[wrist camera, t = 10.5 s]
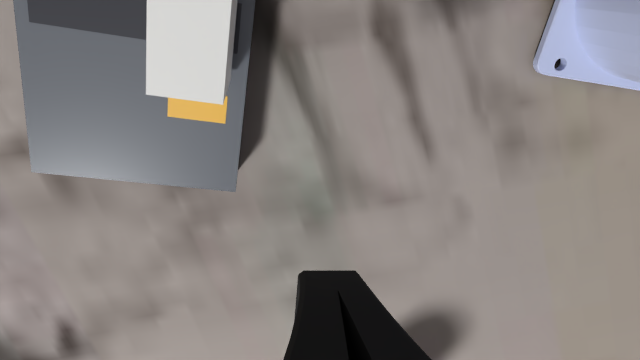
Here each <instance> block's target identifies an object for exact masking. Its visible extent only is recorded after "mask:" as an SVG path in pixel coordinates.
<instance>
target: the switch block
mask: <svg viewBox="0 0 640 360" xmlns="http://www.w3.org/2000/svg"><path fill="white" fill-rule="evenodd" d="M255 1H256V0H237V12H236V23H235V35H234V46H233V58H232V69H231V80H230V83H229V86H228V90H227V93H226V97H225V100H224V104H223V105H221V104H214V103H206V102H198V101H191V100H183V99H176V98H168V97H160V96H153V95H146V24H147V0H13V3H14V12H15V22H16V31H17V40H18V50H19V59H20V68H21V78H22V87H23V97H24V106H25V115H26V125H27V134H28V144H29V153H30V162H31V172H36V173H47V174H57V175H67V176H77V177H88V178H98V179H108V180H118V181H129V182H139V183H149V184H159V185H170V186H180V187H190V188H201V189H211V190H221V191H231V192H235V191H236V183H237V175H238V165H239V156H240V146H241V136H242V127H243V117H244V107H245V98H246V88H247V78H248V68H249V59H250V49H251V39H252V30H253V20H254V10H255Z"/></svg>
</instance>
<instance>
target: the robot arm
mask: <svg viewBox="0 0 640 360" xmlns="http://www.w3.org/2000/svg"><path fill="white" fill-rule="evenodd" d="M558 59H561V63H560V65H559V67H557V68H556V69H555V68H554V65H555V62H556V61H557V60H558ZM533 66H534V69H535V70H536V72H538V73H541V74H544V75H549V76H555V77H561V78H567V79H573V80H579V81H585V82H591V83H597V84H603V85H609V86H615V87H621V88H627V89H633V90H640V0H555V2H554V5H553V8H552V11H551V14H550V16H549V19H548V22H547V25H546V27H545V30H544V33H543V36H542V38H541V41H540V44H539V47H538V49H537V52H536V55H535V58H534V62H533ZM284 360H431V359H430V358H429V356H428V355H427V354H426V353H425V352H424V351H423V350H422V349H421V348H420V347H419V346H418V345H417V344H416V343H415V342H414V341H413V340H412V338H411V337H410V336H409V335H408V334H407V333H406V332H405V330H404V329H403V328H402V327H401V326H400V325H399V324H398V323H397V321H396V320H395V319H394V318H393V317H392V316H391V314H390V313H389V312H388V311H387V310H386V308H385V307H384V306H383V305H382V303H381V302H380V301H379V300H378V298H377V297H376V296H375V295H374V293H373V292H372V291H371V290H370V288H369V287H368V286H367V284H366V283H365V282H364V281H363V279H362V278H361V277H360V275H359V274H358V273H357V272H356V271H303V272H301V273H300V274H299V275H298V285H297V297H296V309H295V320H294V326H293V330H292V334H291V338H290V341H289V344H288V347H287V350H286V353H285V356H284Z"/></svg>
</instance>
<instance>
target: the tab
mask: <svg viewBox="0 0 640 360" xmlns="http://www.w3.org/2000/svg"><path fill="white" fill-rule="evenodd" d="M236 12H237V0H147V24H146V95H153V96H160V97H168V98H176V99H183V100H191V101H198V102H206V103H214V104H221V105H223V104H224V100H225V97H226V93H227V90H228V86H229V83H230V80H231V69H232V58H233V46H234V35H235V23H236Z"/></svg>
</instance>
